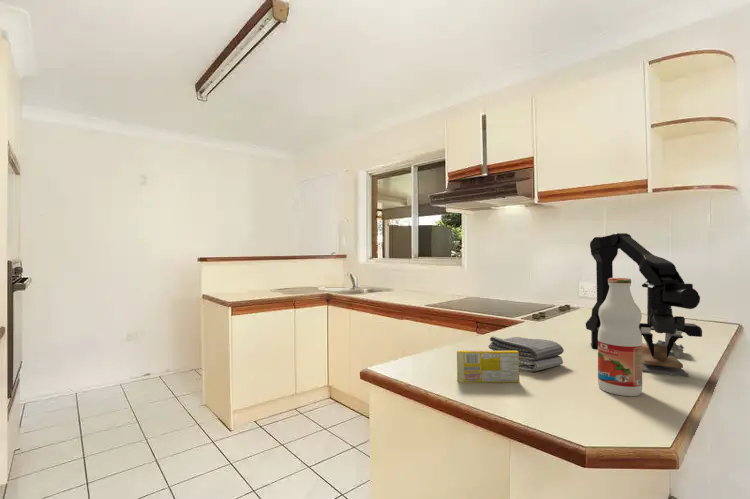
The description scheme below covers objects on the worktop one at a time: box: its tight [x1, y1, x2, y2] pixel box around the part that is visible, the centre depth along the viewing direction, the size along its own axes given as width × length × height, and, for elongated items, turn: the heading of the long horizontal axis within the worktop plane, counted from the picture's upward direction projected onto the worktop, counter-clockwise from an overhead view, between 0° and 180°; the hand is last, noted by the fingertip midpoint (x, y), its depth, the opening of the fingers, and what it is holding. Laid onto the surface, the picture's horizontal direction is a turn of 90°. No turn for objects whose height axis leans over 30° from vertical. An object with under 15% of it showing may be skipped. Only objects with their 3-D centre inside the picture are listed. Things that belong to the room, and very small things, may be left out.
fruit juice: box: [597, 277, 643, 397], centre depth 97 cm, size 9×9×28 cm
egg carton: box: [655, 339, 685, 359], centre depth 131 cm, size 11×8×4 cm
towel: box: [487, 336, 565, 372], centre depth 121 cm, size 15×18×8 cm
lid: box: [642, 342, 684, 369], centre depth 114 cm, size 9×9×5 cm
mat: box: [642, 362, 689, 377], centre depth 114 cm, size 11×10×1 cm
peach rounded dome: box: [642, 342, 651, 354], centre depth 125 cm, size 8×8×4 cm
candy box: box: [456, 350, 520, 384], centre depth 103 cm, size 16×2×8 cm, turn 89°
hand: (659, 356), depth 114 cm, fingers closed on lid, 3 cm apart
